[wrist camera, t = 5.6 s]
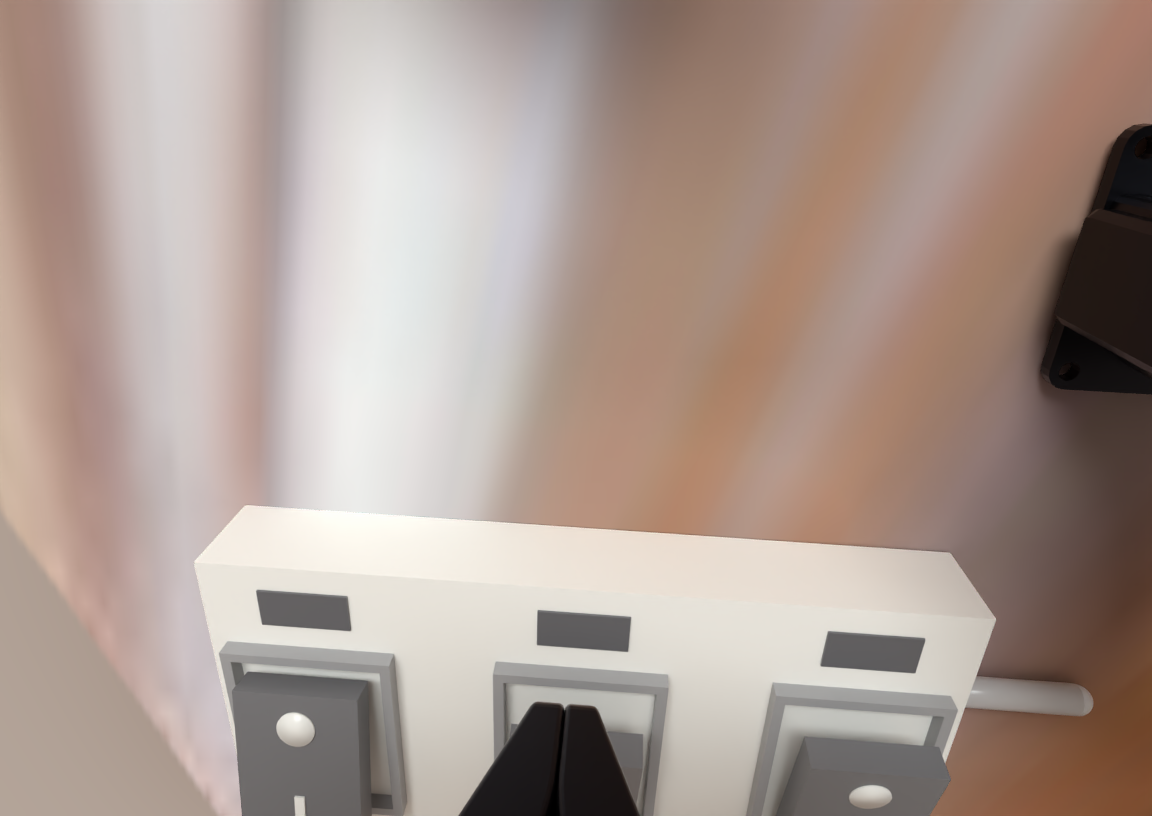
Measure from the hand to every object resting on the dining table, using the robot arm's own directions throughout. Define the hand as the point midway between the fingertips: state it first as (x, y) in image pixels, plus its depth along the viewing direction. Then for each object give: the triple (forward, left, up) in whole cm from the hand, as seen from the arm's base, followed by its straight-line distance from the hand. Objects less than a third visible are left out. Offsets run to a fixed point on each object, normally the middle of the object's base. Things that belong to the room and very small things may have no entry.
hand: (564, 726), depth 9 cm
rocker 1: (+8, +11, -8) cm, 16 cm away
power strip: (-3, +10, -12) cm, 16 cm away
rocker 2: (-8, +11, -8) cm, 16 cm away
